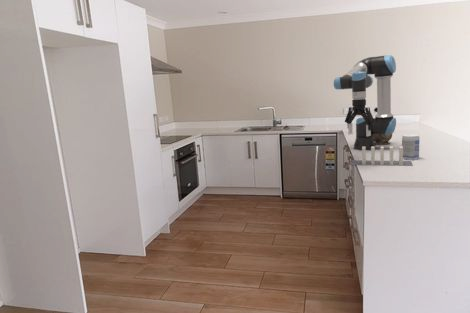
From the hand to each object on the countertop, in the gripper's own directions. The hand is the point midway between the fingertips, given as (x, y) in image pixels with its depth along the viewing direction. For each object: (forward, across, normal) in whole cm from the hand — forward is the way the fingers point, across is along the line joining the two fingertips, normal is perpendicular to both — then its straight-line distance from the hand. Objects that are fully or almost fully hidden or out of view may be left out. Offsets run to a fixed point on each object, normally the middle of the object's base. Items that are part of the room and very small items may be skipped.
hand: (359, 135), depth 206 cm
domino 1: (+17, +2, +2) cm, 17 cm away
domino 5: (+17, +18, +14) cm, 28 cm away
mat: (+18, +8, +9) cm, 21 cm away
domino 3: (+17, +10, +8) cm, 21 cm away
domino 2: (+17, +6, +5) cm, 19 cm away
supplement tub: (+18, +12, +31) cm, 38 cm away
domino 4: (+17, +14, +11) cm, 25 cm away
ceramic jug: (+18, -35, +64) cm, 75 cm away
